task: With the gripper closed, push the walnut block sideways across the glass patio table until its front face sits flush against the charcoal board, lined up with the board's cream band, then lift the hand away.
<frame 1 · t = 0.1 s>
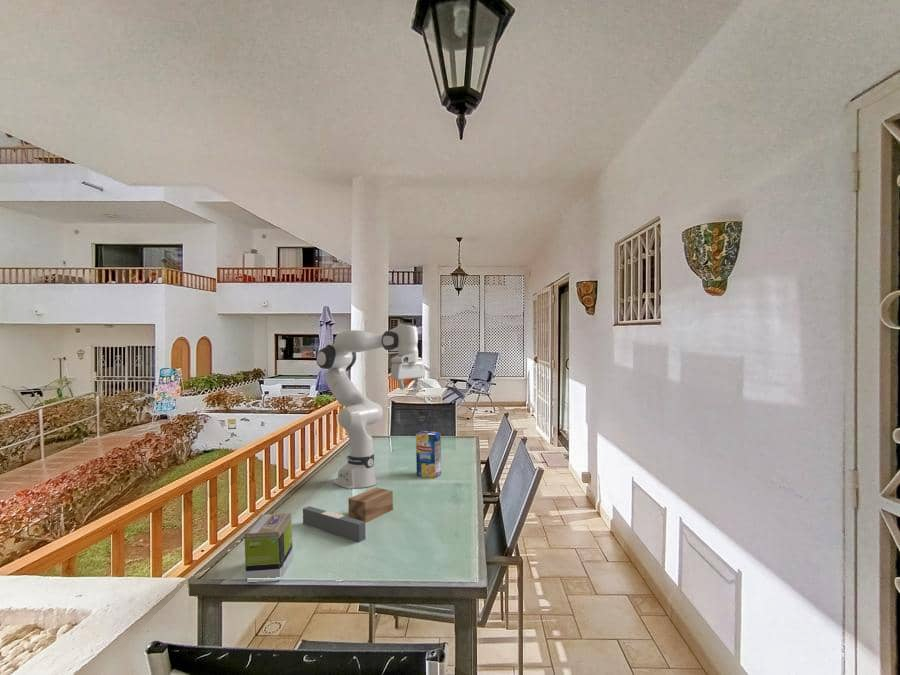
hand: (409, 388, 208), 48 cm above the table, fingers open, 8 cm apart
tea box: (270, 571, 140), on the table
beverage box: (429, 475, 237), on the table
walnut block: (371, 514, 185), on the table
stop board: (332, 531, 168), on the table
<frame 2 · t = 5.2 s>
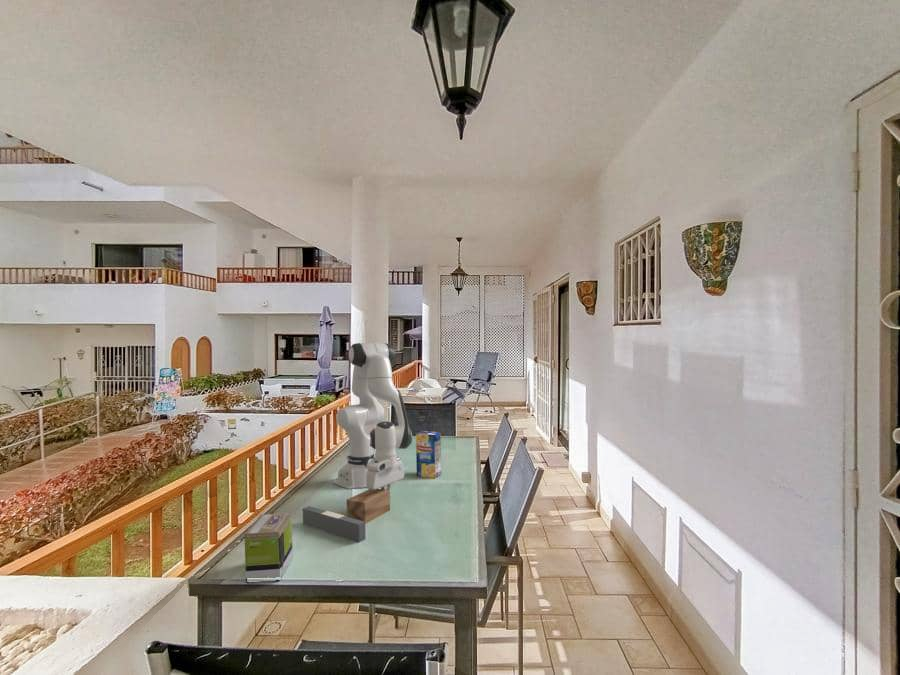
hand: (386, 494, 192), 5 cm above the table, fingers closed
walnut block: (369, 515, 184), on the table, touching gripper
everything else where it was.
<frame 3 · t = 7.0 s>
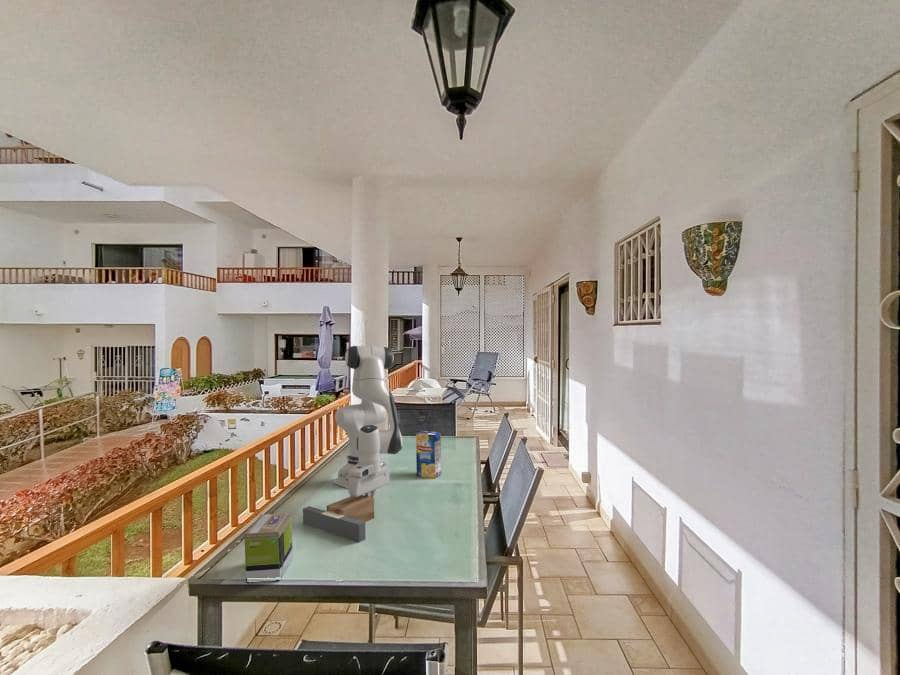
hand: (370, 501, 184), 5 cm above the table, fingers closed
walnut block: (351, 522, 176), on the table, touching gripper, stop board
everything else where it was.
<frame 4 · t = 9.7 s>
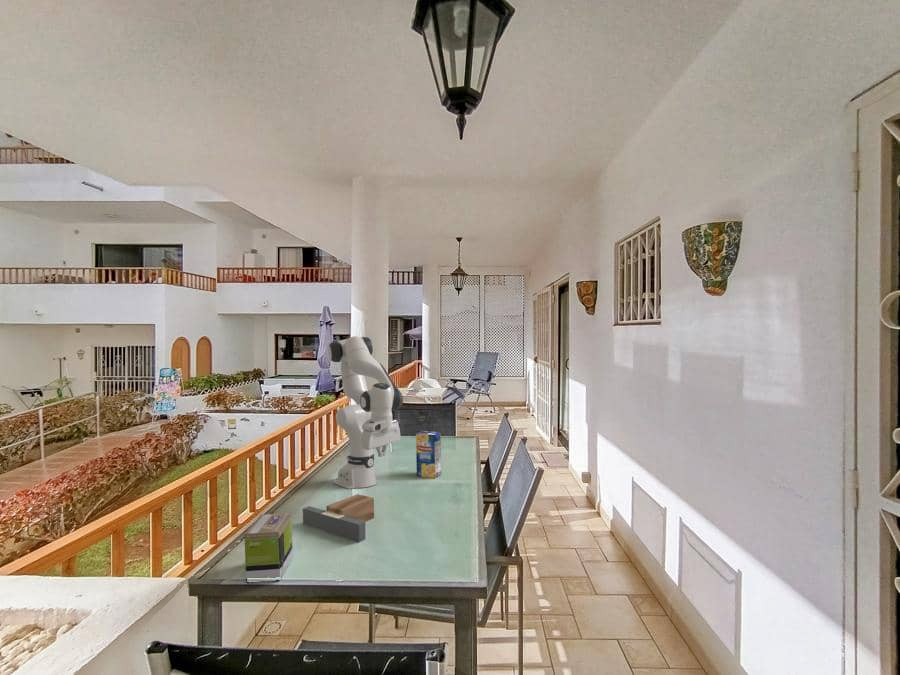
hand: (381, 456, 191), 22 cm above the table, fingers closed
walnut block: (350, 522, 176), on the table
everything else where it was.
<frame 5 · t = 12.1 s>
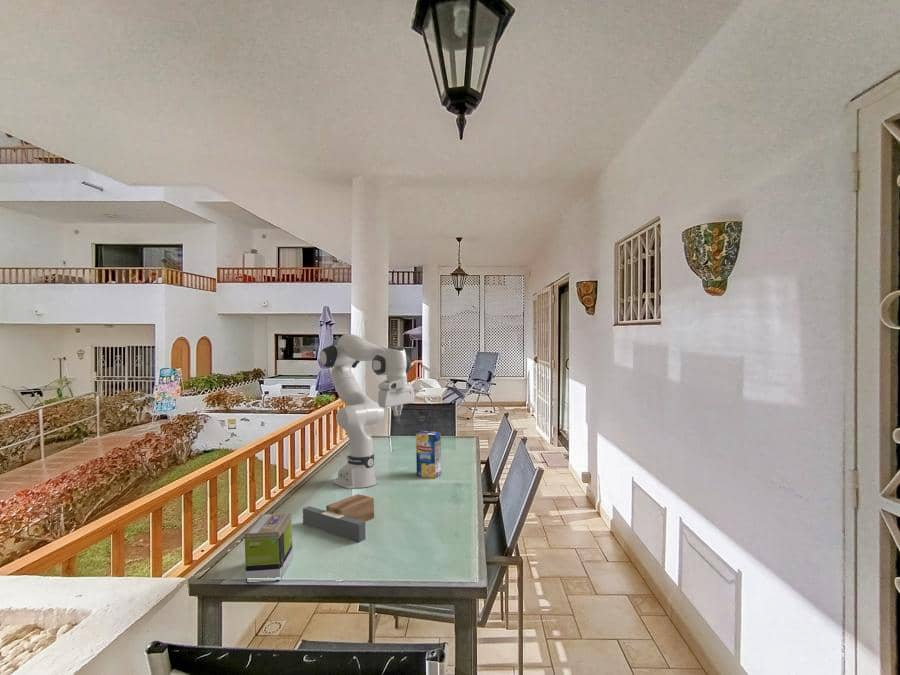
hand: (397, 415, 199), 37 cm above the table, fingers closed
nothing on the table moved.
at the end: walnut block 0.9 cm from the target spot on the table beside the stop board, on the table; walnut block tilted 0° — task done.
